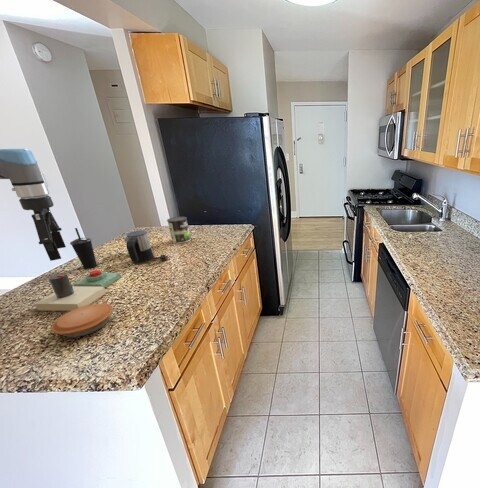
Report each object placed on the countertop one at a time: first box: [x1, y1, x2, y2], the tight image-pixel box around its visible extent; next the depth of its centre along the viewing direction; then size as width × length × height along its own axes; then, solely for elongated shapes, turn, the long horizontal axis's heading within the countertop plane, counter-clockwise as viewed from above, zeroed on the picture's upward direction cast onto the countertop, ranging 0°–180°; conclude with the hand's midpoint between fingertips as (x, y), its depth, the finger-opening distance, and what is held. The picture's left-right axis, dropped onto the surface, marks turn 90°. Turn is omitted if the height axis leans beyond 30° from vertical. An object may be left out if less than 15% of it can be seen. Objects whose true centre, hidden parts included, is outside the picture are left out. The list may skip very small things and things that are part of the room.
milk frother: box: [125, 229, 169, 264], centre depth 132 cm, size 14×16×15 cm
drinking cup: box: [69, 227, 98, 270], centre depth 124 cm, size 8×8×20 cm
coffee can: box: [166, 216, 192, 245], centre depth 158 cm, size 10×10×14 cm
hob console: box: [33, 285, 107, 312], centre depth 100 cm, size 16×12×3 cm
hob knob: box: [48, 272, 74, 298], centre depth 98 cm, size 5×5×8 cm
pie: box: [50, 303, 114, 338], centre depth 86 cm, size 15×16×5 cm
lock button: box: [88, 269, 101, 277], centre depth 112 cm, size 4×4×2 cm
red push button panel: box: [72, 270, 122, 289], centre depth 113 cm, size 12×10×4 cm
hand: (58, 253), depth 96 cm, fingers open, 13 cm apart
